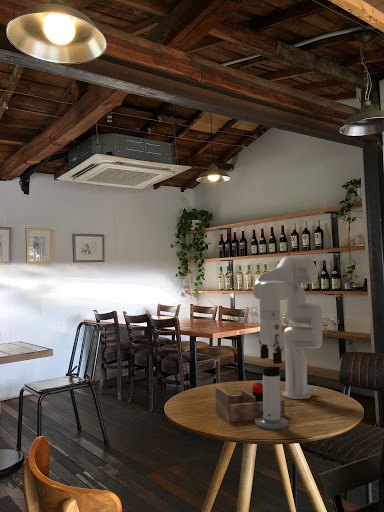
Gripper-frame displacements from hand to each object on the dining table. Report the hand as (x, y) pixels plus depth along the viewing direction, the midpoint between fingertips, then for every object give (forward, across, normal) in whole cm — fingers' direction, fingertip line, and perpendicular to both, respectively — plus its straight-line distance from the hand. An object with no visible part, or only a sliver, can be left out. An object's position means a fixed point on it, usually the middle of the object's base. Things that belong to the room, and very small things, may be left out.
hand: (270, 360), depth 161 cm
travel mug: (+22, -1, 0) cm, 22 cm away
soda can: (+24, +13, -3) cm, 27 cm away
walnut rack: (+23, +13, +3) cm, 27 cm away
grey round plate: (+23, -1, +1) cm, 23 cm away
